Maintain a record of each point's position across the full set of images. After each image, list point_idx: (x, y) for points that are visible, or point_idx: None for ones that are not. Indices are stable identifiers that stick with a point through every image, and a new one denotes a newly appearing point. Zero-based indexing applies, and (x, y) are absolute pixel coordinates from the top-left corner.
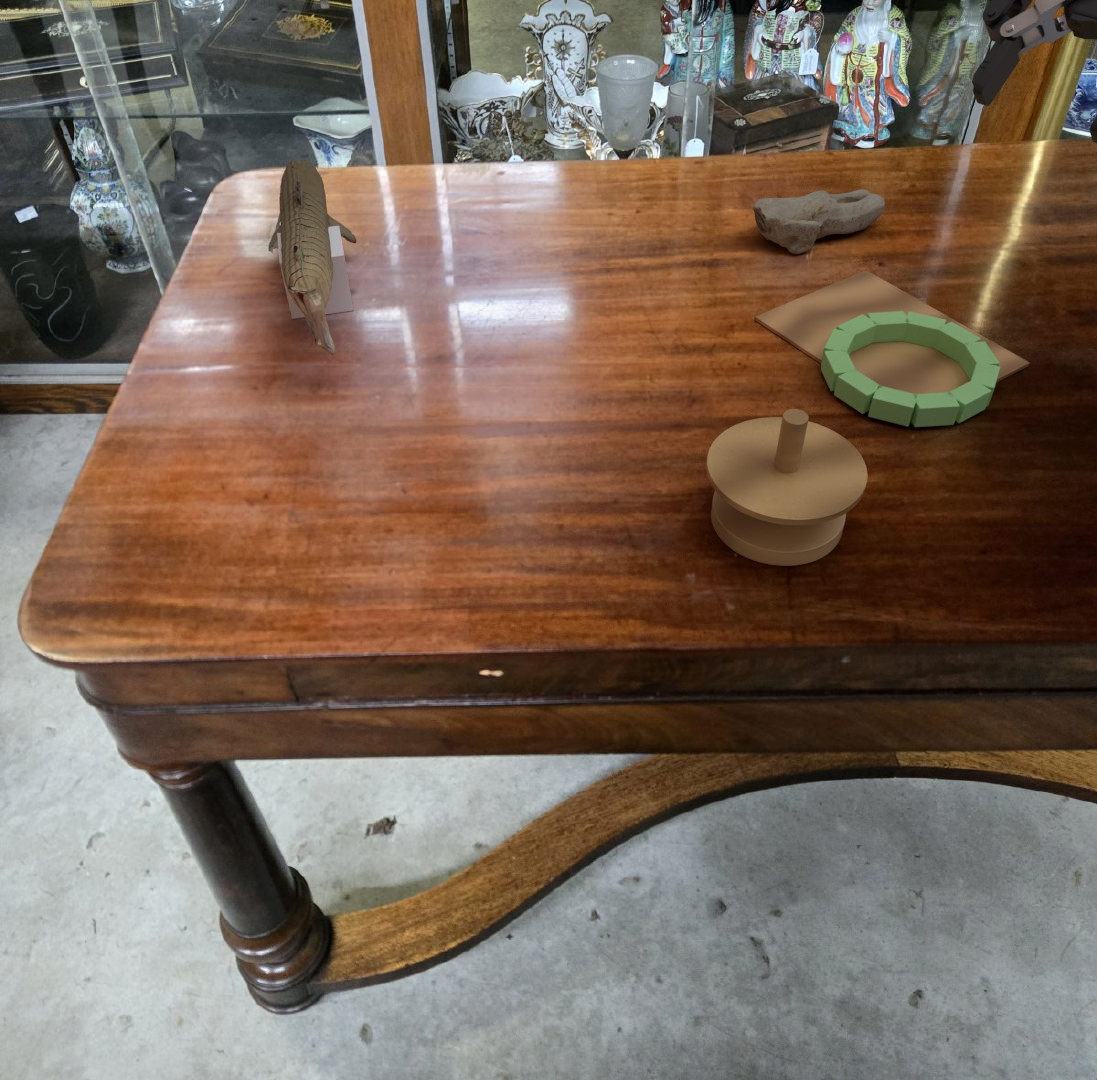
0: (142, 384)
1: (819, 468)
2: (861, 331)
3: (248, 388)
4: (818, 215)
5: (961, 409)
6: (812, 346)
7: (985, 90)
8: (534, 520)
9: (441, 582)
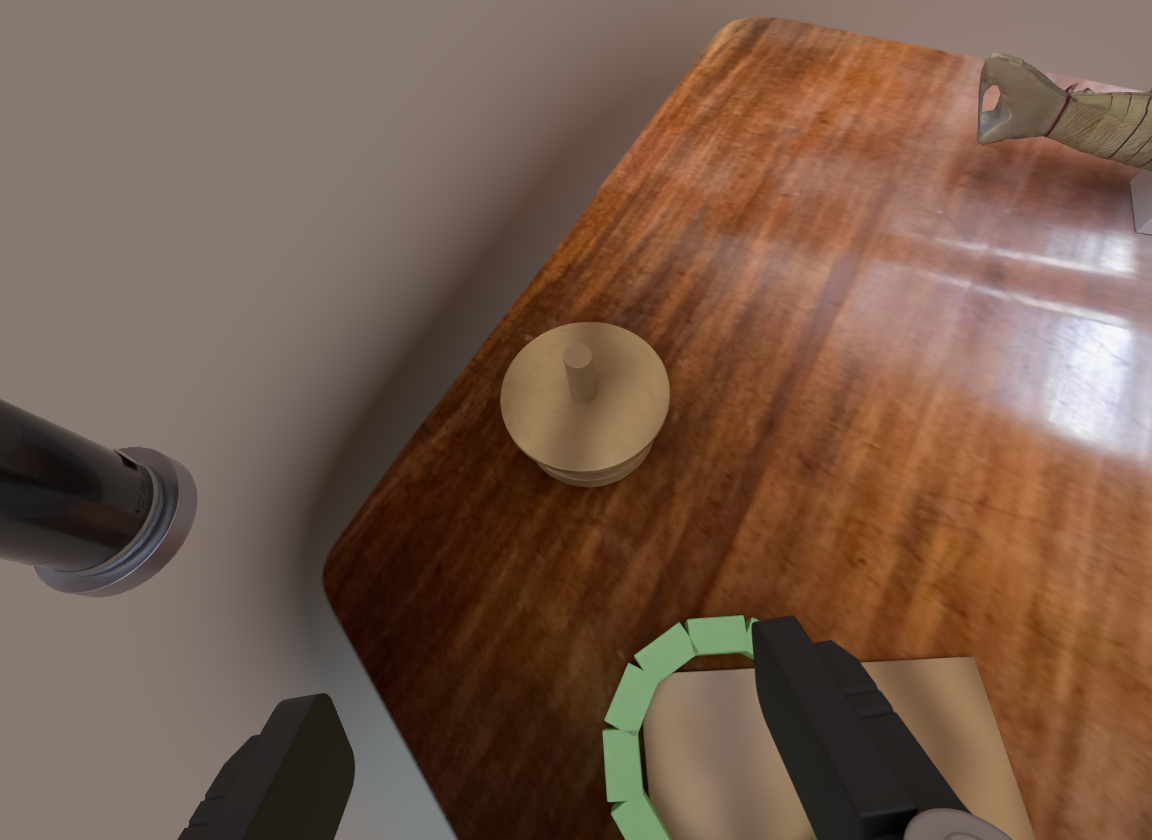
0: None
1: (561, 416)
2: None
3: None
4: None
5: (606, 729)
6: None
7: (759, 648)
8: (699, 260)
9: (668, 188)
